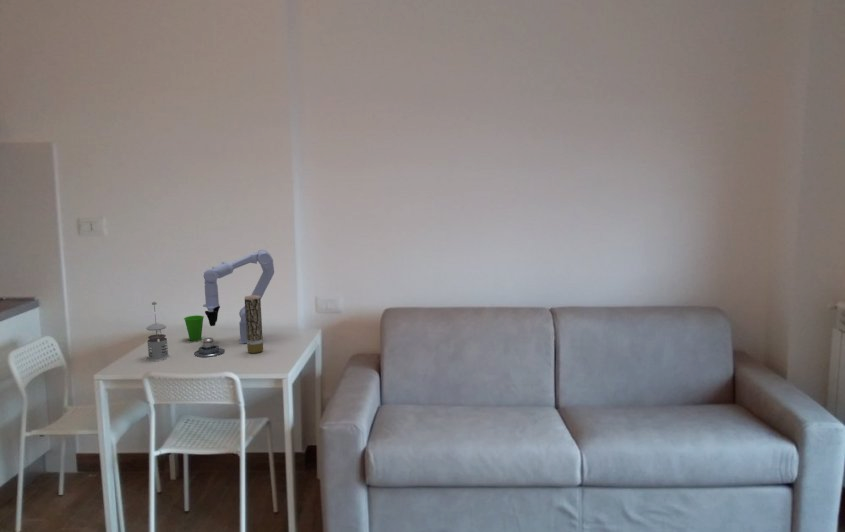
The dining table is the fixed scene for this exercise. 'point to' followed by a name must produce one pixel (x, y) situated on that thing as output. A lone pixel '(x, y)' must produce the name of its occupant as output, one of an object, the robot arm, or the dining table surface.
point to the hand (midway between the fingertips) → (213, 323)
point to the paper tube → (253, 324)
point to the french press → (157, 348)
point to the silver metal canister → (208, 343)
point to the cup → (194, 327)
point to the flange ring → (209, 352)
